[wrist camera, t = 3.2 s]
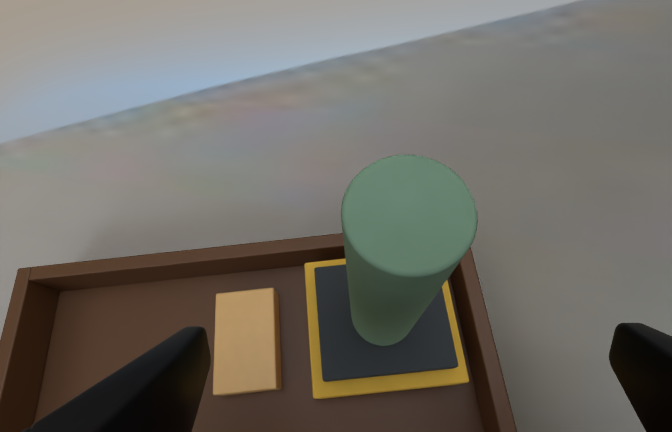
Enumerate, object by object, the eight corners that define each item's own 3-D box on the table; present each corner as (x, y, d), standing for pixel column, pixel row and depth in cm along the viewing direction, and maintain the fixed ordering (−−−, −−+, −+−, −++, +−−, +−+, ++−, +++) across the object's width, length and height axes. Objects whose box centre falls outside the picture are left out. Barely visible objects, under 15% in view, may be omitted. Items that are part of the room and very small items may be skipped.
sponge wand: (454, 385, 16) (644, 354, 5) (319, 399, 16) (238, 396, 5) (430, 266, 18) (533, 74, 7) (310, 279, 18) (240, 106, 8)
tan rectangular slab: (282, 389, 16) (276, 388, 15) (221, 395, 16) (212, 395, 15) (278, 293, 18) (273, 287, 17) (224, 299, 18) (215, 293, 17)
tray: (451, 241, 19) (464, 219, 17) (533, 597, 14) (569, 638, 11) (58, 284, 20) (17, 268, 17) (-16, 652, 14) (-92, 703, 12)
